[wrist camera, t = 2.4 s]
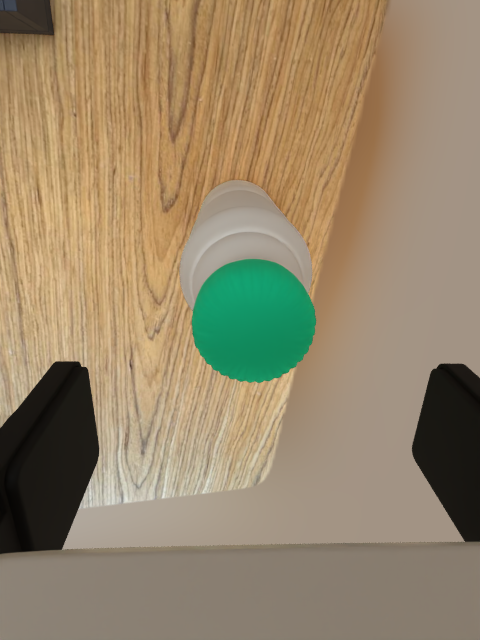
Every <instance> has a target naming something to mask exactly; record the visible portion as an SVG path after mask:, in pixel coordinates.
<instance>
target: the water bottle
mask: <svg viewBox="0 0 480 640" xmlns="http://www.w3.org/2000/svg"><path fill="white" fill-rule="evenodd" d="M179 273H180V284H181V288H182V292H183V295H184V297H185V300H186V302H187V303H188V305H189V307H190V308H191V310H192V311H193V316H192V329H193V337H194V342H195V346H196V348H198V349H199V352H200V355H201V356H202V357H204V359H205V361H206V363H207V364H209V365H211V366H212V368H213V369H214V370H216V371H219V372H220V373H221V375H224V376H228V377H229V378H230V379H237V380H238V381H247V382H249V383H251V382H254V381H256V382H258V383H261V382H263V381H264V380H265V381H271V380H272V379H273V378H279V377H281V375H282V374H285V373H288V372H289V370H290V369H291V368H294V367H296V365H297V362H300V361H301V360H303V356H304V354H306V353H307V352H308V350H309V346H310V345H311V344H312V340H313V335H314V333H315V325H316V318H315V309H314V306H313V304H312V302H311V299H310V297H309V295H308V293H309V290H310V286H311V281H312V262H311V257H310V253H309V250H308V247H307V245H306V243H305V241H304V239H303V237H302V236H301V234H300V233H299V232H298V230H297V229H296V228H295V227H294V226H293V225H292V224H291V223H290V222H289V221H288V219H287V218H286V217H285V215H284V214H283V213H282V212H281V210H280V209H279V208H278V207H277V206H276V205H275V203H274V202H273V201H272V200H271V198H270V197H269V196H268V194H267V193H266V192H265V191H264V190H263V189H262V188H260V187H259V186H257V185H256V184H254V183H251V182H248V181H244V180H231V181H227V182H224V183H222V184H220V185H218V186H216V187H215V188H214V189H212V190H211V191H210V192H209V193H208V195H207V196H206V197H205V199H204V201H203V203H202V205H201V208H200V211H199V213H198V216H197V219H196V221H195V224H194V226H193V228H192V231H191V234H190V237H189V239H188V241H187V243H186V245H185V247H184V250H183V253H182V256H181V261H180V271H179Z"/></svg>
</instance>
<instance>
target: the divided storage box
mask: <svg viewBox="0 0 480 640" xmlns="http://www.w3.org/2000/svg"><path fill="white" fill-rule="evenodd" d="M0 33H21V34H45V35H54V32H53V24H52V17H51V9H50V2H49V0H0Z"/></svg>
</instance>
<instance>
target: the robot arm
mask: <svg viewBox="0 0 480 640" xmlns="http://www.w3.org/2000/svg"><path fill="white" fill-rule="evenodd" d="M412 453H413V457H414V459H415V461H416V463H417V465H418V466H419V468H420V469H421V471H422V473H423V474H424V476H425V478H426V479H427V481H428V482H429V484H430V485H431V487H432V489H433V491H434V492H435V494H436V495H437V497H438V498H439V500H440V502H441V503H442V505H443V507H444V508H445V510H446V512H447V513H448V515H449V517H450V518H451V520H452V521H453V523H454V525H455V526H456V528H457V530H458V531H459V533H460V534H461V536H462V537H463V539H464V541H465V542H412V543H411V542H409V543H334V544H274V545H273V544H271V545H220V546H219V545H218V546H171V547H127V548H94V549H67V550H62V548H63V545H64V542H65V540H66V538H67V535H68V533H69V530H70V528H71V525H72V523H73V520H74V518H75V516H76V513H77V511H78V508H79V506H80V503H81V501H82V498H83V496H84V493H85V491H86V488H87V486H88V483H89V481H90V479H91V476H92V474H93V471H94V469H95V466H96V464H97V461H98V457H99V443H98V436H97V429H96V422H95V415H94V408H93V401H92V394H91V387H90V380H89V373H88V369H87V368H86V367H81V364H80V363H79V362H60V361H58V362H55V363H53V365H52V366H51V367H50V369H49V370H48V371H47V372H46V374H45V375H44V376H43V377H42V379H41V380H40V381H39V382H38V384H37V385H36V386H35V387H34V389H33V390H32V391H31V392H30V394H29V395H28V396H27V398H26V399H25V400H24V401H23V403H22V404H21V405H20V406H19V408H18V409H17V410H16V411H15V412H14V413H13V414H12V415H11V416H10V417H9V418H8V419H7V421H6V422H5V423H4V424H3V426H2V427H1V428H0V640H480V378H479V377H478V376H477V375H476V374H474V373H473V372H472V371H471V370H470V369H469V368H468V367H467V366H466V365H464V364H440V365H439V366H438V367H437V369H433V370H432V371H431V374H430V378H429V381H428V385H427V390H426V393H425V397H424V401H423V405H422V409H421V413H420V417H419V421H418V425H417V429H416V433H415V437H414V441H413V445H412Z"/></svg>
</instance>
